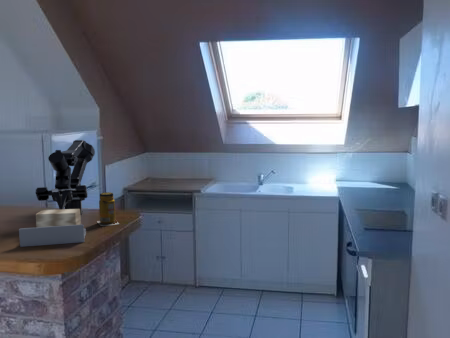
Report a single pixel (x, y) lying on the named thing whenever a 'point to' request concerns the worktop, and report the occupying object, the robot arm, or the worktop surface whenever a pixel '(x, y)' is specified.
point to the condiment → (107, 209)
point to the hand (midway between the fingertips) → (60, 210)
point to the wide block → (58, 217)
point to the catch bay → (52, 235)
